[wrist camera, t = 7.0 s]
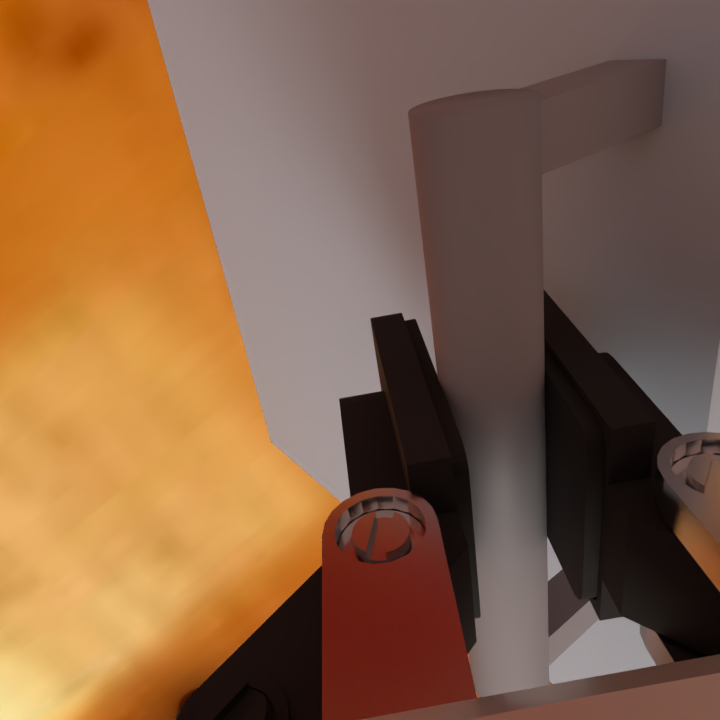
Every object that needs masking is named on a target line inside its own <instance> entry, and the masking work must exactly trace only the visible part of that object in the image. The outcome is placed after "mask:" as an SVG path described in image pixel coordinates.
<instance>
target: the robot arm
mask: <svg viewBox="0 0 720 720" xmlns="http://www.w3.org/2000/svg"><path fill="white" fill-rule="evenodd" d="M370 320H371V327H372V334H373V340H374V347H375V353H376V360H377V366H378V372H379V379H380V385H381V391H379V392H373V393H367V394H362V395H356V396H350V397H345V398H339V403H340V412H341V420H342V429H343V438H344V446H345V455H346V463H347V472H348V481H349V489H350V498H348V499H346V500H344V501H343V502H342V503H341V504H340V505H338V506H337V507H336V508H335V509H334V510H333V511H332V512H331V514H330V515H329V517H328V519H327V520H326V522H325V524H324V529H323V534H322V566H321V567H320V568H319V569H318V570H317V571H316V572H315V573H314V574H313V575H312V576H311V577H310V578H309V579H308V580H307V581H306V582H305V583H304V584H303V585H302V586H301V587H300V588H299V589H298V590H297V591H296V592H295V593H294V594H292V595H291V596H290V597H289V598H288V599H287V600H286V601H285V602H284V603H283V604H282V605H281V606H280V607H279V608H278V609H277V610H276V611H275V612H274V613H273V614H272V615H271V616H270V617H269V618H268V619H267V620H266V621H265V622H264V623H263V624H262V625H261V626H260V627H259V628H258V629H257V630H256V631H255V632H254V633H253V634H252V635H251V636H250V637H249V638H248V639H247V640H246V641H245V642H244V643H243V644H242V645H241V646H240V647H239V648H238V649H237V650H236V651H235V652H234V653H233V654H232V655H231V656H230V657H229V658H228V659H227V660H226V661H225V662H224V663H223V664H222V665H221V666H220V667H219V668H218V669H217V670H216V671H215V672H214V673H213V674H212V675H211V676H210V677H209V678H208V679H207V680H206V681H205V682H204V683H203V684H202V685H201V686H200V687H199V688H198V689H197V690H196V691H195V692H194V693H193V695H192V696H191V697H190V699H189V700H188V701H187V702H186V704H185V705H184V706H183V707H182V709H181V710H180V713H179V715H178V717H177V719H176V720H720V433H713V432H699V433H689V434H685V435H682V434H681V433H680V432H679V431H678V430H677V429H676V427H675V426H674V425H673V424H672V423H671V422H670V421H669V419H668V418H667V417H666V416H665V415H664V414H663V413H662V412H661V410H660V409H659V408H658V407H657V406H656V405H655V404H654V403H653V401H652V400H651V399H650V398H649V397H648V396H647V395H646V393H645V392H644V391H643V390H642V389H641V388H640V387H639V386H638V384H637V383H636V382H635V381H634V380H633V379H632V378H631V377H630V375H629V374H628V373H627V372H626V371H625V370H624V369H623V368H622V366H621V365H620V364H619V363H618V362H617V361H616V360H615V358H614V357H613V356H611V355H610V354H609V353H606V352H601V353H598V352H597V351H596V350H595V349H594V347H593V346H592V345H591V344H590V343H589V342H588V340H587V339H586V338H585V337H584V336H583V335H582V333H581V332H580V331H579V330H578V329H577V328H576V326H575V325H574V324H573V323H572V322H571V321H570V319H569V318H568V317H567V316H566V315H565V313H564V312H563V311H562V310H561V309H560V308H559V306H558V305H557V304H556V303H555V302H554V301H553V299H552V298H551V297H550V296H549V295H548V294H547V292H546V291H545V290H544V358H545V427H546V496H547V537H548V539H549V541H550V543H551V545H552V548H553V550H554V552H555V554H556V556H557V558H558V560H559V563H560V565H561V567H562V569H563V571H564V573H565V575H566V577H567V580H568V582H569V584H570V586H571V588H572V590H573V592H574V594H575V596H576V597H577V598H578V599H579V600H583V599H588V598H589V600H590V602H591V604H592V606H593V608H594V610H595V612H596V614H597V616H598V618H599V620H600V621H602V620H608V619H613V618H619V617H625V618H627V619H629V620H631V621H633V622H636V623H638V624H640V635H641V637H642V640H643V642H644V645H645V647H646V649H647V650H648V652H649V654H650V655H651V657H652V659H653V660H654V662H655V664H656V666H651V667H646V668H640V669H634V670H629V671H623V672H618V673H612V674H607V675H601V676H595V677H590V678H584V679H579V680H573V681H567V682H562V683H557V684H551V685H546V686H540V687H535V688H529V689H524V690H518V691H513V692H508V693H502V694H497V695H491V696H486V697H480V698H477V696H476V691H475V686H474V682H473V677H472V673H471V668H470V664H469V659H468V653H469V652H470V650H471V649H472V648H473V646H474V645H475V643H476V642H477V639H476V627H475V619H476V618H480V617H481V611H480V599H479V587H478V574H477V562H476V549H475V537H474V525H473V512H472V500H471V488H470V476H469V468H468V462H467V457H466V452H465V448H464V445H463V442H462V439H461V436H460V434H459V431H458V428H457V426H456V423H455V421H454V418H453V415H452V413H451V410H450V407H449V405H448V402H447V400H446V397H445V394H444V392H443V389H442V387H441V384H440V383H439V381H438V377H437V373H436V371H435V368H434V366H433V363H432V360H431V358H430V355H429V352H428V350H427V347H426V345H425V342H424V339H423V337H422V334H421V332H420V329H419V326H418V324H417V321H416V319H411V320H404V317H403V315H402V313H397V314H391V315H385V316H379V317H374V318H370Z"/></svg>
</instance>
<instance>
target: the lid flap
mask: <svg viewBox="0 0 720 720" xmlns="http://www.w3.org/2000/svg"><path fill="white" fill-rule="evenodd" d="M147 1H148V4H149V8H150V11H151V15H152V18H153V22H154V26H155V29H156V33H157V36H158V40H159V43H160V47H161V51H162V54H163V58H164V61H165V65H166V68H167V72H168V76H169V79H170V83H171V86H172V90H173V93H174V97H175V101H176V104H177V108H178V111H179V115H180V118H181V122H182V126H183V129H184V133H185V136H186V140H187V143H188V147H189V151H190V154H191V158H192V161H193V165H194V168H195V172H196V175H197V179H198V183H199V186H200V190H201V193H202V197H203V200H204V204H205V208H206V211H207V215H208V218H209V222H210V225H211V229H212V233H213V236H214V240H215V243H216V247H217V250H218V254H219V258H220V261H221V265H222V268H223V272H224V275H225V279H226V283H227V286H228V290H229V293H230V297H231V300H232V304H233V308H234V311H235V315H236V318H237V322H238V325H239V329H240V333H241V336H242V340H243V343H244V347H245V350H246V354H247V358H248V361H249V365H250V368H251V372H252V375H253V379H254V383H255V386H256V390H257V393H258V397H259V400H260V404H261V408H262V411H263V415H264V418H265V422H266V425H267V429H268V432H269V436H270V440H271V442H272V443H273V444H274V445H275V446H276V447H277V448H279V449H280V450H281V451H282V452H283V453H284V454H286V455H287V456H288V457H289V458H290V459H291V460H293V461H294V462H295V463H296V464H297V465H298V466H300V467H301V468H302V469H303V470H304V471H305V472H307V473H308V474H309V475H310V476H311V477H312V478H314V479H315V480H316V481H317V482H318V483H319V484H321V485H322V486H323V487H324V488H325V489H326V490H328V491H329V492H330V493H331V494H332V495H333V496H335V497H336V498H337V499H338V500H339V501H340V502H343V501H344V500H346V499H348V498H350V489H349V481H348V472H347V463H346V455H345V446H344V438H343V429H342V420H341V412H340V403H339V398H345V397H350V396H356V395H362V394H367V393H373V392H379V391H381V385H380V379H379V372H378V366H377V360H376V353H375V347H374V340H373V334H372V327H371V320H370V318H374V317H379V316H385V315H391V314H397V313H402V315H403V317H404V320H411V319H416V321H417V324H418V326H419V329H420V332H421V334H422V337H423V339H424V342H425V345H426V347H427V350H428V352H429V355H430V358H431V360H432V363H433V366H434V368H435V371H436V373H437V377H438V381H439V383H440V384H441V387H442V389H443V392H444V394H445V397H446V400H447V402H448V405H449V407H450V410H451V413H452V415H453V418H454V421H455V423H456V426H457V428H458V431H459V434H460V436H461V439H462V442H463V445H464V448H465V452H466V457H467V462H468V468H469V476H470V488H471V500H472V512H473V525H474V537H475V549H476V562H477V574H478V587H479V599H480V611H481V617H480V618H476V619H475V627H476V639H477V642H476V643H475V645H474V646H473V648H472V649H471V650H470V652H469V662H470V668H471V673H472V677H473V682H474V686H475V690H476V692H477V694H478V695H479V696H480V697H486V696H491V695H497V694H502V693H508V692H513V691H518V690H524V689H529V688H535V687H540V686H546V685H549V681H550V682H551V683H552V684H557V683H562V682H567V681H573V680H579V679H584V678H590V677H595V676H601V675H607V674H612V673H618V672H623V671H629V670H634V669H640V668H646V667H651V666H656V664H655V662H654V660H653V659H652V657H651V655H650V654H649V652H648V650H647V649H646V647H645V645H644V642H643V640H642V637H641V635H640V624H638V623H636V622H633V621H631V620H629V619H627V618H625V617H619V618H613V619H608V620H602V621H600V620H599V618H598V616H597V614H596V612H595V610H594V608H593V606H592V604H591V602H590V600H589V598H588V599H583V600H579V599H578V598H577V597H576V596H575V594H574V592H573V590H572V588H571V586H570V584H569V582H568V580H567V577H566V575H565V573H564V571H563V569H562V567H561V565H560V563H559V560H558V558H557V556H556V554H555V552H554V550H553V548H552V545H551V543H550V541H549V539H548V537H547V496H546V427H545V358H544V290H545V291H546V292H547V294H548V295H549V296H550V297H551V298H552V299H553V301H554V302H555V303H556V304H557V305H558V306H559V308H560V309H561V310H562V311H563V312H564V313H565V315H566V316H567V317H568V318H569V319H570V321H571V322H572V323H573V324H574V325H575V326H576V328H577V329H578V330H579V331H580V332H581V333H582V335H583V336H584V337H585V338H586V339H587V340H588V342H589V343H590V344H591V345H592V346H593V347H594V349H595V350H596V351H597V352H598V353H601V352H606V353H609V354H610V355H611V356H613V357H614V358H615V360H616V361H617V362H618V363H619V364H620V365H621V366H622V368H623V369H624V370H625V371H626V372H627V373H628V374H629V375H630V377H631V378H632V379H633V380H634V381H635V382H636V383H637V384H638V386H639V387H640V388H641V389H642V390H643V391H644V392H645V393H646V395H647V396H648V397H649V398H650V399H651V400H652V401H653V403H654V404H655V405H656V406H657V407H658V408H659V409H660V410H661V412H662V413H663V414H664V415H665V416H666V417H667V418H668V419H669V421H670V422H671V423H672V424H673V425H674V426H675V427H676V429H677V430H678V431H679V432H680V433H681V434H682V435H685V434H689V433H699V432H713V433H720V0H147Z"/></svg>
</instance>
